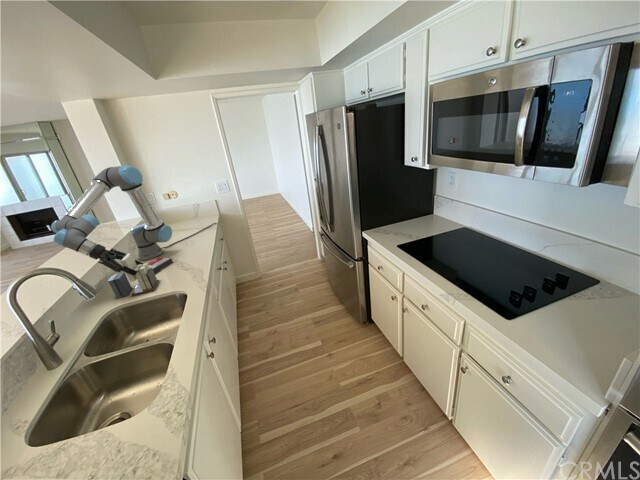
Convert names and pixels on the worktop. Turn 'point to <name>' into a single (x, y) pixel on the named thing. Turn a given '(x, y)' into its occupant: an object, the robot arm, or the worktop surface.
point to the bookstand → (145, 279)
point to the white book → (129, 265)
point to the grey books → (120, 285)
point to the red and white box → (159, 264)
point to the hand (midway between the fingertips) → (139, 269)
